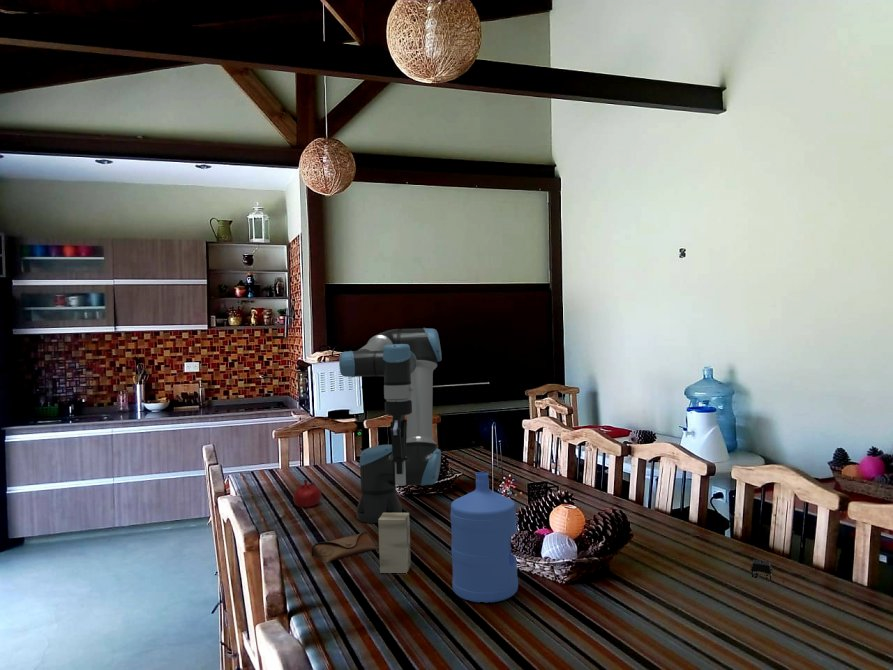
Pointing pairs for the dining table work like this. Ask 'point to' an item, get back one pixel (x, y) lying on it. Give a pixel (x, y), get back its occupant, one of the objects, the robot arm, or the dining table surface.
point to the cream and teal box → (394, 543)
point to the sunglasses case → (343, 547)
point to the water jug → (483, 544)
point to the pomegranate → (307, 495)
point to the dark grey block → (761, 568)
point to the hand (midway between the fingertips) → (400, 484)
